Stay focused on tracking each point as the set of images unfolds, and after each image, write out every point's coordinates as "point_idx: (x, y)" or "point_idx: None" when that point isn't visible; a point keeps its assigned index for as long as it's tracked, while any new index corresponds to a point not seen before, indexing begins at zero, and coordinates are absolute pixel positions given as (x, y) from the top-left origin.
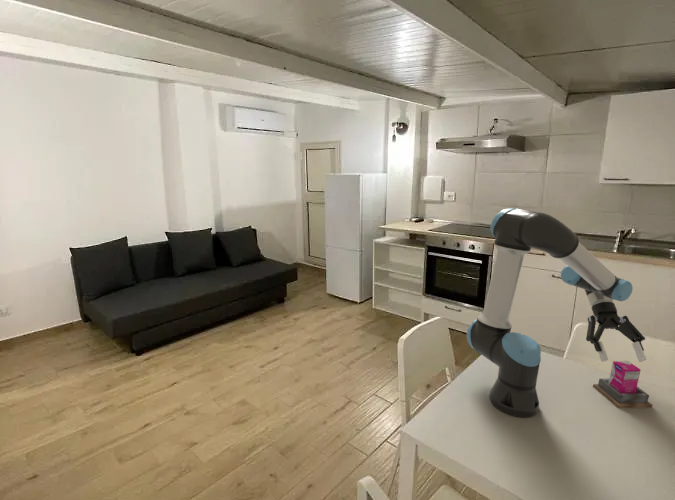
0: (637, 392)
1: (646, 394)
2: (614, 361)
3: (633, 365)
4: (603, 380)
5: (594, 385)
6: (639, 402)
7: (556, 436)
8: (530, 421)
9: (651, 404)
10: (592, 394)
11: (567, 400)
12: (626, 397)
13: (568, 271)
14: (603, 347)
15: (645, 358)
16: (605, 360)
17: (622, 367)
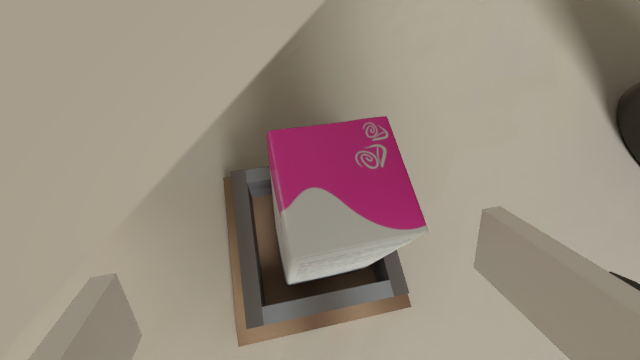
0: (253, 221)
1: (239, 177)
2: (417, 225)
3: (290, 176)
4: (393, 275)
5: (408, 297)
6: None
7: (566, 32)
8: (628, 73)
9: (227, 179)
10: (427, 238)
11: (527, 181)
12: None
13: None
14: (605, 285)
15: (89, 287)
16: (483, 236)
17: (390, 143)
